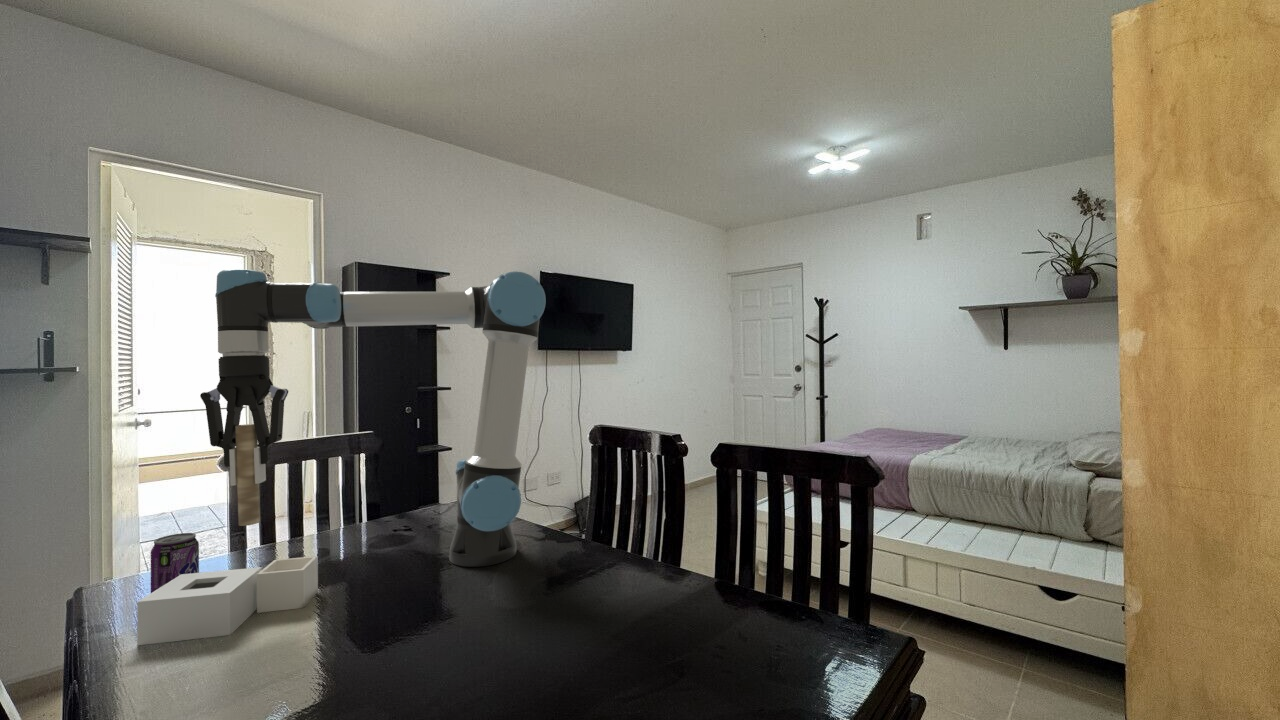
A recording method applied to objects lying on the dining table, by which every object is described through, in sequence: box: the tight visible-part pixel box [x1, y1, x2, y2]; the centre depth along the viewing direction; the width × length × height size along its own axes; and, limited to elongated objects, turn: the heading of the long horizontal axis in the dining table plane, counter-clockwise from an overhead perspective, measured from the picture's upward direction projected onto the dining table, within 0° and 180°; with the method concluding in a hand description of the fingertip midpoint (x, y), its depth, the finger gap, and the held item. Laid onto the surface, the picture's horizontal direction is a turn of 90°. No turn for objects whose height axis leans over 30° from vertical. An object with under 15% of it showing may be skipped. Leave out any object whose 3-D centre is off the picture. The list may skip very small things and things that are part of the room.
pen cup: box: [256, 555, 319, 614], centre depth 103 cm, size 8×8×7 cm
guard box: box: [136, 566, 263, 646], centre depth 94 cm, size 13×12×7 cm
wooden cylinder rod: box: [235, 423, 261, 527], centre depth 99 cm, size 3×3×18 cm
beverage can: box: [150, 532, 200, 594], centre depth 104 cm, size 7×7×12 cm
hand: (248, 482), depth 99 cm, fingers closed on wooden cylinder rod, 3 cm apart
